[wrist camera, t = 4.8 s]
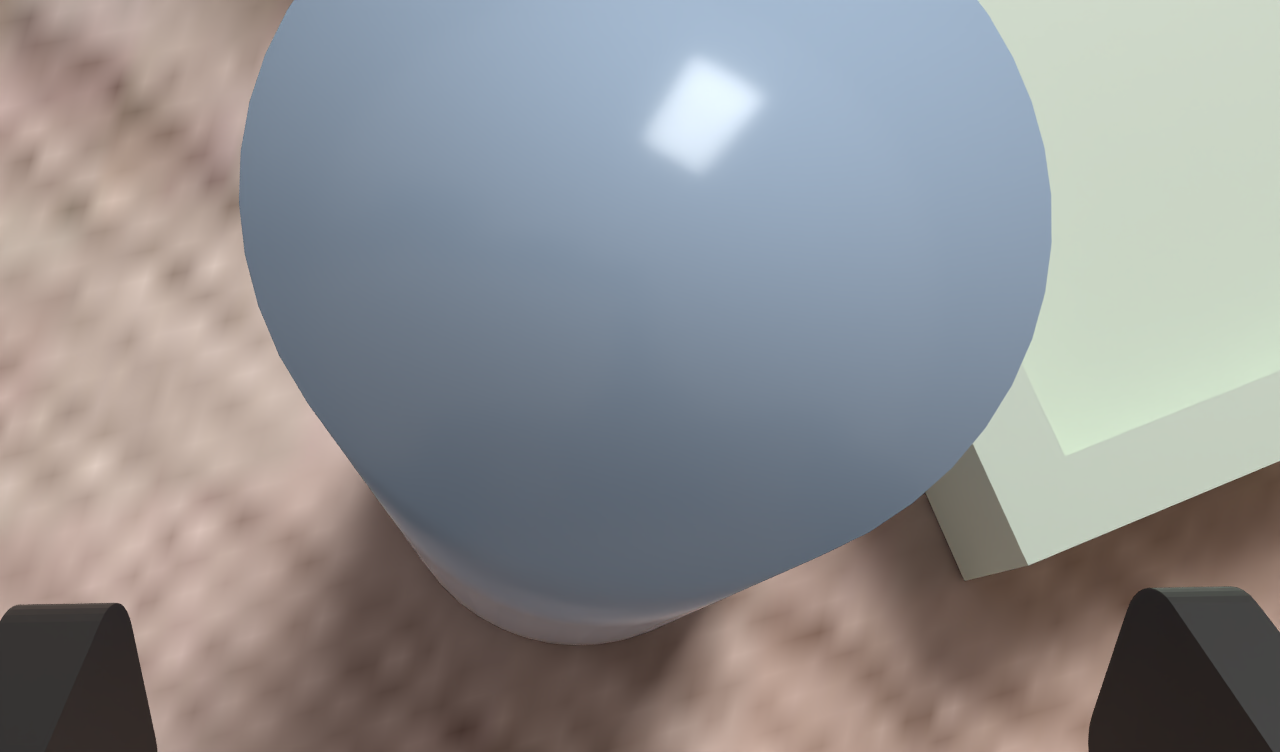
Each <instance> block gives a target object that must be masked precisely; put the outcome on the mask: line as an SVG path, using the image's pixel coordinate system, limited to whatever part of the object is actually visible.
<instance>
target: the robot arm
mask: <svg viewBox="0 0 1280 752" xmlns="http://www.w3.org/2000/svg"><path fill="white" fill-rule="evenodd" d="M1088 747H1089V752H1280V632H1279V631H1278V630H1277V628H1276V627H1275V626H1274V624H1273V623H1272V622H1271V621H1270V619H1269V618H1268V617H1267V615H1266V614H1265V613H1264V611H1263V610H1262V609H1261V608H1260V606H1259V605H1258V604H1257V602H1256V601H1255V600H1254V599H1253V598H1252V597H1251V596H1250V595H1249V594H1248V593H1246V592H1245V591H1244V590H1242V589H1239V588H1237V587H1175V588H1146V589H1143V590H1141V591H1139V592H1138V593H1137V594H1136V595H1135V596H1134V597H1133V599H1132V600H1131V602H1130V604H1129V607H1128V609H1127V612H1126V615H1125V618H1124V621H1123V624H1122V627H1121V630H1120V633H1119V636H1118V639H1117V642H1116V645H1115V648H1114V651H1113V654H1112V657H1111V660H1110V663H1109V666H1108V669H1107V672H1106V675H1105V678H1104V681H1103V684H1102V687H1101V690H1100V693H1099V696H1098V699H1097V702H1096V705H1095V708H1094V711H1093V714H1092V718H1091V722H1090V727H1089V738H1088ZM0 752H157V744H156V738H155V733H154V729H153V724H152V719H151V714H150V710H149V705H148V700H147V695H146V691H145V686H144V681H143V677H142V672H141V667H140V662H139V658H138V653H137V648H136V644H135V639H134V634H133V629H132V625H131V621H130V618H129V615H128V613H127V611H126V609H125V608H124V606H122V605H121V604H119V603H89V604H32V605H16V606H13V607H12V608H10V609H9V610H8V611H7V612H6V613H5V615H4V616H3V617H2V619H1V621H0Z"/></svg>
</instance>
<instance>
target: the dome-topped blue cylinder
mask: <svg viewBox="0 0 1280 752" xmlns="http://www.w3.org/2000/svg"><path fill="white" fill-rule="evenodd" d="M239 206H240V215H241V224H242V233H243V242H244V250H245V256H246V260H247V264H248V268H249V272H250V276H251V279H252V283H253V287H254V291H255V295H256V299H257V302H258V306H259V308H260V311H261V313H262V316H263V318H264V320H265V323H266V325H267V327H268V330H269V332H270V335H271V337H272V339H273V342H274V344H275V346H276V349H277V351H278V354H279V356H280V358H281V359H282V361H283V363H284V364H285V366H286V368H287V369H288V371H289V373H290V374H291V376H292V378H293V379H294V381H295V383H296V384H297V386H298V388H299V389H300V391H301V393H302V394H303V396H304V398H305V399H306V401H307V403H308V404H309V406H310V407H311V408H312V410H313V411H314V412H315V414H316V415H317V417H318V418H319V419H320V421H321V422H322V423H323V425H324V426H325V428H326V429H327V430H328V432H329V433H330V434H331V436H332V437H333V439H334V440H335V441H336V443H337V444H338V445H339V447H340V448H341V450H342V451H343V452H344V454H345V455H346V457H347V458H348V459H349V461H350V462H351V463H352V465H353V466H354V468H355V469H356V470H357V472H358V473H359V474H360V476H361V477H362V479H363V480H364V481H365V483H366V484H367V485H368V487H369V488H370V490H371V491H372V492H373V494H374V495H375V496H376V498H377V499H378V501H379V502H380V503H381V505H382V506H383V507H384V509H385V510H386V512H387V513H388V514H389V516H390V517H391V518H392V520H393V521H394V523H395V524H396V525H397V527H398V528H399V529H400V531H401V532H402V534H403V535H404V536H405V538H406V539H407V540H408V542H409V543H410V545H411V546H412V547H413V549H414V550H415V551H416V553H417V554H418V556H419V557H420V558H421V560H422V561H423V563H424V564H425V565H426V567H427V568H428V569H429V570H430V572H431V573H432V574H433V575H434V577H435V578H436V579H437V580H438V582H439V583H440V584H441V585H442V586H443V587H444V588H445V589H446V590H447V591H448V592H449V593H450V594H451V595H452V596H453V597H454V598H455V599H456V600H457V601H458V602H460V603H461V604H462V605H464V606H465V607H466V608H468V609H469V610H471V611H472V612H473V613H475V614H476V615H477V616H479V617H480V618H482V619H484V620H486V621H488V622H490V623H492V624H493V625H495V626H497V627H499V628H501V629H503V630H506V631H509V632H511V633H514V634H517V635H519V636H522V637H525V638H529V639H533V640H538V641H542V642H546V643H552V644H564V645H595V644H604V643H610V642H615V641H620V640H625V639H628V638H631V637H634V636H637V635H640V634H644V633H647V632H649V631H651V630H654V629H656V628H658V627H661V626H663V625H665V624H667V623H670V622H672V621H674V620H676V619H679V618H681V617H683V616H685V615H688V614H690V613H692V612H694V611H697V610H699V609H701V608H704V607H706V606H708V605H710V604H713V603H715V602H717V601H719V600H722V599H724V598H726V597H728V596H731V595H733V594H735V593H737V592H740V591H742V590H744V589H747V588H749V587H751V586H753V585H756V584H758V583H760V582H762V581H765V580H767V579H769V578H771V577H774V576H776V575H778V574H781V573H783V572H785V571H787V570H790V569H792V568H794V567H796V566H799V565H801V564H803V563H805V562H808V561H810V560H812V559H814V558H817V557H819V556H821V555H823V554H825V553H827V552H829V551H831V550H834V549H836V548H838V547H840V546H842V545H844V544H846V543H848V542H850V541H852V540H854V539H856V538H858V537H860V536H863V535H865V534H867V533H869V532H870V531H872V530H873V529H875V528H876V527H878V526H879V525H881V524H882V523H884V522H885V521H887V520H888V519H890V518H891V517H893V516H894V515H896V514H897V513H899V512H900V511H902V510H903V509H905V508H906V507H908V506H909V505H911V504H912V503H913V502H915V501H916V500H917V499H918V498H919V497H920V496H921V495H922V494H923V493H925V492H926V491H927V490H928V489H929V488H930V487H931V486H932V485H934V484H935V483H936V482H937V481H938V480H939V479H940V478H941V477H942V476H944V475H945V474H946V473H947V472H948V471H949V470H950V469H951V468H952V467H953V466H954V465H955V464H956V463H957V461H958V460H959V459H960V458H961V457H962V455H963V454H964V453H965V452H966V451H967V450H968V448H969V447H970V446H971V445H972V444H973V442H974V441H975V440H976V439H977V438H978V436H979V435H980V434H981V433H982V432H983V430H984V429H985V428H986V426H987V425H988V423H989V422H990V420H991V418H992V417H993V415H994V414H995V412H996V410H997V409H998V407H999V405H1000V404H1001V402H1002V401H1003V399H1004V397H1005V396H1006V394H1007V393H1008V391H1009V389H1010V388H1011V386H1012V384H1013V382H1014V380H1015V377H1016V375H1017V373H1018V370H1019V368H1020V366H1021V364H1022V361H1023V359H1024V357H1025V354H1026V352H1027V350H1028V348H1029V345H1030V343H1031V341H1032V338H1033V334H1034V331H1035V327H1036V323H1037V320H1038V316H1039V313H1040V309H1041V305H1042V302H1043V298H1044V295H1045V290H1046V282H1047V275H1048V267H1049V260H1050V252H1051V244H1052V233H1051V190H1050V183H1049V176H1048V169H1047V162H1046V155H1045V148H1044V144H1043V141H1042V137H1041V133H1040V130H1039V126H1038V123H1037V119H1036V115H1035V112H1034V108H1033V105H1032V101H1031V99H1030V96H1029V94H1028V92H1027V89H1026V87H1025V85H1024V82H1023V80H1022V77H1021V75H1020V73H1019V70H1018V68H1017V66H1016V63H1015V61H1014V58H1013V56H1012V55H1011V53H1010V51H1009V49H1008V48H1007V46H1006V44H1005V42H1004V41H1003V39H1002V37H1001V35H1000V34H999V32H998V30H997V29H996V27H995V25H994V23H993V22H992V20H991V18H990V16H989V15H988V13H987V12H986V11H985V9H984V8H983V7H982V5H981V4H980V3H979V1H978V0H294V1H293V3H292V4H291V5H290V7H289V8H288V10H287V12H286V14H285V16H284V18H283V20H282V22H281V24H280V26H279V28H278V30H277V32H276V34H275V36H274V38H273V40H272V42H271V44H270V46H269V48H268V50H267V52H266V54H265V57H264V60H263V63H262V66H261V69H260V72H259V75H258V78H257V81H256V84H255V87H254V90H253V93H252V96H251V99H250V103H249V108H248V114H247V119H246V125H245V130H244V136H243V142H242V147H241V160H240V190H239Z"/></svg>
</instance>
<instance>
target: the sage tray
mask: <svg viewBox="0 0 1280 752" xmlns="http://www.w3.org/2000/svg"><path fill="white" fill-rule="evenodd" d="M978 1H979V3H980V4H981V5H982V7H983V8H984V9H985V11H986V12H987V13H988V15H989V16H990V18H991V20H992V22H993V23H994V25H995V27H996V29H997V30H998V32H999V34H1000V35H1001V37H1002V39H1003V41H1004V42H1005V44H1006V46H1007V48H1008V49H1009V51H1010V53H1011V55H1012V56H1013V58H1014V61H1015V63H1016V66H1017V68H1018V70H1019V73H1020V75H1021V77H1022V80H1023V82H1024V85H1025V87H1026V89H1027V92H1028V94H1029V96H1030V99H1031V101H1032V105H1033V108H1034V112H1035V115H1036V119H1037V123H1038V126H1039V130H1040V133H1041V137H1042V141H1043V144H1044V148H1045V155H1046V162H1047V169H1048V176H1049V183H1050V190H1051V233H1052V244H1051V252H1050V260H1049V267H1048V275H1047V282H1046V290H1045V295H1044V298H1043V302H1042V305H1041V309H1040V313H1039V316H1038V320H1037V323H1036V327H1035V331H1034V334H1033V338H1032V341H1031V343H1030V345H1029V348H1028V350H1027V352H1026V354H1025V357H1024V359H1023V361H1022V364H1021V366H1020V368H1019V370H1018V373H1017V375H1016V377H1015V380H1014V382H1013V384H1012V386H1011V388H1010V389H1009V391H1008V393H1007V394H1006V396H1005V397H1004V399H1003V401H1002V402H1001V404H1000V405H999V407H998V409H997V410H996V412H995V414H994V415H993V417H992V418H991V420H990V422H989V423H988V425H987V426H986V428H985V429H984V430H983V432H982V433H981V434H980V435H979V436H978V438H977V439H976V440H975V441H974V442H973V444H972V445H971V446H970V447H969V448H968V450H967V451H966V452H965V453H964V454H963V455H962V457H961V458H960V459H959V460H958V461H957V463H956V464H955V465H954V466H953V467H952V468H951V469H950V470H949V471H948V472H947V473H946V474H945V475H944V476H942V477H941V478H940V479H939V480H938V481H937V482H936V483H935V484H934V485H932V486H931V487H930V488H929V489H928V490H927V491H926V492H925V493H926V495H927V497H928V500H929V502H930V504H931V506H932V509H933V511H934V513H935V515H936V518H937V520H938V522H939V524H940V527H941V529H942V531H943V533H944V536H945V538H946V540H947V542H948V545H949V547H950V549H951V551H952V554H953V556H954V558H955V561H956V563H957V565H958V567H959V570H960V572H961V574H962V576H963V579H964V581H967V580H971V579H975V578H979V577H983V576H987V575H991V574H996V573H1000V572H1004V571H1008V570H1012V569H1016V568H1020V567H1025V566H1029V565H1031V564H1033V563H1036V562H1038V561H1041V560H1043V559H1045V558H1048V557H1050V556H1053V555H1055V554H1057V553H1060V552H1062V551H1065V550H1067V549H1069V548H1072V547H1074V546H1077V545H1079V544H1081V543H1084V542H1086V541H1089V540H1091V539H1093V538H1096V537H1098V536H1101V535H1103V534H1105V533H1108V532H1110V531H1113V530H1115V529H1117V528H1120V527H1122V526H1125V525H1127V524H1129V523H1132V522H1134V521H1137V520H1139V519H1141V518H1144V517H1146V516H1149V515H1151V514H1153V513H1156V512H1158V511H1161V510H1163V509H1165V508H1168V507H1170V506H1173V505H1175V504H1177V503H1180V502H1182V501H1185V500H1187V499H1189V498H1192V497H1194V496H1197V495H1199V494H1201V493H1204V492H1206V491H1209V490H1211V489H1213V488H1216V487H1218V486H1221V485H1223V484H1225V483H1228V482H1230V481H1233V480H1235V479H1237V478H1240V477H1242V476H1245V475H1247V474H1249V473H1252V472H1254V471H1257V470H1259V469H1261V468H1264V467H1266V466H1269V465H1271V464H1273V463H1276V462H1278V461H1280V0H978Z"/></svg>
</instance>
